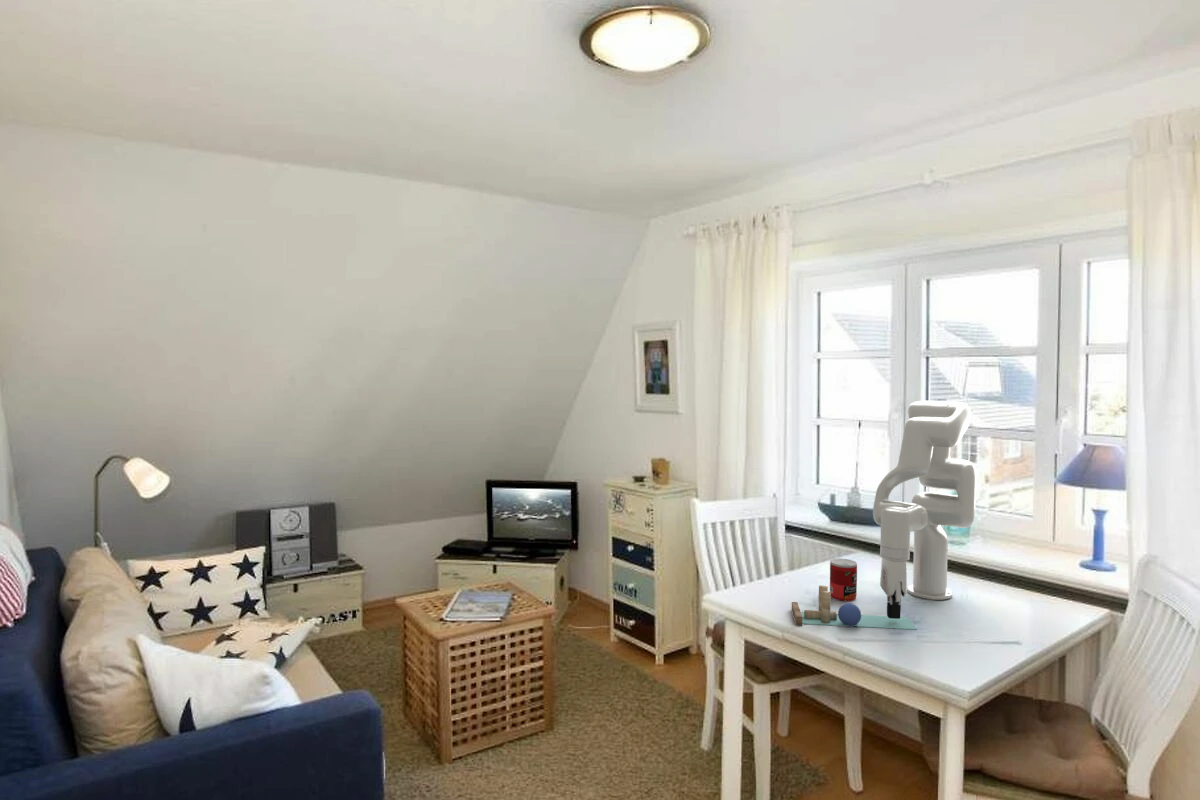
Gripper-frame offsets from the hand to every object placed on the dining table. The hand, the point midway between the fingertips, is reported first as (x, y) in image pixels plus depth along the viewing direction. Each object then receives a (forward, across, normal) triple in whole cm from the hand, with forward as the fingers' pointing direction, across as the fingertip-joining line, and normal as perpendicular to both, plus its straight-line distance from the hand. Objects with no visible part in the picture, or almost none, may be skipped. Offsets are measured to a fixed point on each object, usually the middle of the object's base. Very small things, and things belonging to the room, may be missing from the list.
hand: (893, 617), depth 199 cm
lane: (+2, 0, -10) cm, 10 cm away
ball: (-2, +4, -12) cm, 13 cm away
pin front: (0, 0, -15) cm, 15 cm away
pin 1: (+2, -2, -18) cm, 19 cm away
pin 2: (+2, +2, -18) cm, 19 cm away
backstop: (+2, 0, -26) cm, 26 cm away
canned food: (+2, -20, -10) cm, 22 cm away
